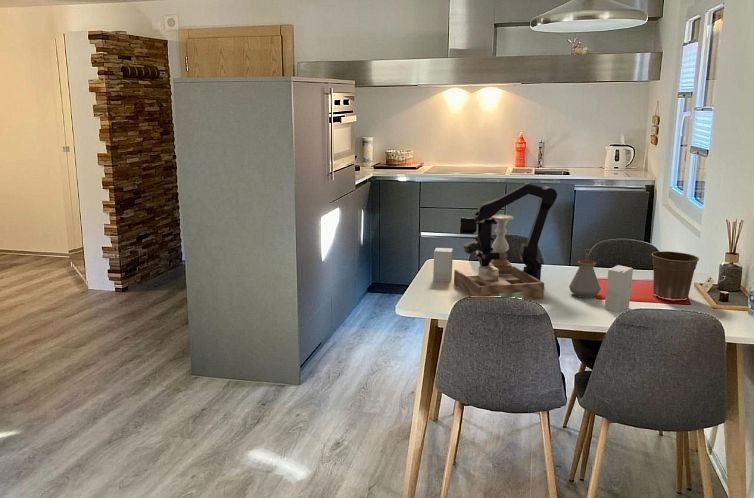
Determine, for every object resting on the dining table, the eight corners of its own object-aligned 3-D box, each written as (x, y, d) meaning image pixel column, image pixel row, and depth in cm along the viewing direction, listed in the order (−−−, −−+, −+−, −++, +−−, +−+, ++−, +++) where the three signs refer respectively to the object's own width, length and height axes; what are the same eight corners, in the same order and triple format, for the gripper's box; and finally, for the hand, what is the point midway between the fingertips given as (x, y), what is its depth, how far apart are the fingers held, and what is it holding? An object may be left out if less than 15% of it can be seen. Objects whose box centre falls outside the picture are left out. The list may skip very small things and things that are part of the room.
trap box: (513, 280, 274) (514, 266, 273) (543, 298, 250) (544, 282, 248) (453, 284, 269) (454, 269, 267) (478, 302, 244) (478, 286, 243)
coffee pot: (600, 300, 247) (603, 261, 244) (567, 297, 251) (570, 258, 248) (600, 285, 267) (603, 249, 264) (570, 283, 271) (572, 247, 268)
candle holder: (513, 273, 285) (516, 218, 280) (488, 273, 286) (490, 218, 280) (509, 267, 296) (512, 214, 291) (484, 267, 296) (487, 214, 291)
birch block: (492, 275, 271) (492, 265, 270) (498, 279, 265) (498, 269, 264) (478, 276, 269) (478, 266, 268) (484, 280, 264) (484, 270, 263)
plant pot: (691, 293, 258) (695, 252, 254) (697, 305, 242) (702, 262, 239) (645, 289, 262) (649, 249, 259) (649, 301, 247) (654, 258, 243)
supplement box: (450, 282, 271) (451, 251, 269) (432, 281, 273) (433, 251, 270) (452, 277, 278) (453, 248, 276) (434, 276, 280) (435, 247, 277)
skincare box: (613, 304, 243) (617, 264, 240) (630, 307, 239) (633, 267, 236) (603, 309, 237) (607, 268, 234) (620, 312, 233) (623, 271, 230)
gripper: (457, 230, 276) (456, 267, 279) (474, 239, 258) (472, 278, 261) (483, 229, 278) (481, 266, 282) (501, 238, 260) (499, 277, 264)
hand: (483, 272), depth 272 cm, fingers closed
